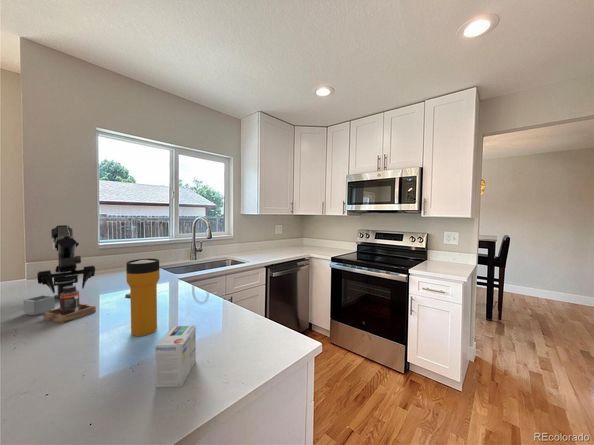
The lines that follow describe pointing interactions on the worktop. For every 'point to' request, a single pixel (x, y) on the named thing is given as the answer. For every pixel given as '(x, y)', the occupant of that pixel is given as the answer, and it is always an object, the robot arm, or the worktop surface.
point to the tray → (55, 314)
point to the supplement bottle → (69, 300)
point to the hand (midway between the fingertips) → (69, 290)
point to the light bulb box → (175, 356)
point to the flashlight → (143, 294)
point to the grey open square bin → (39, 304)
